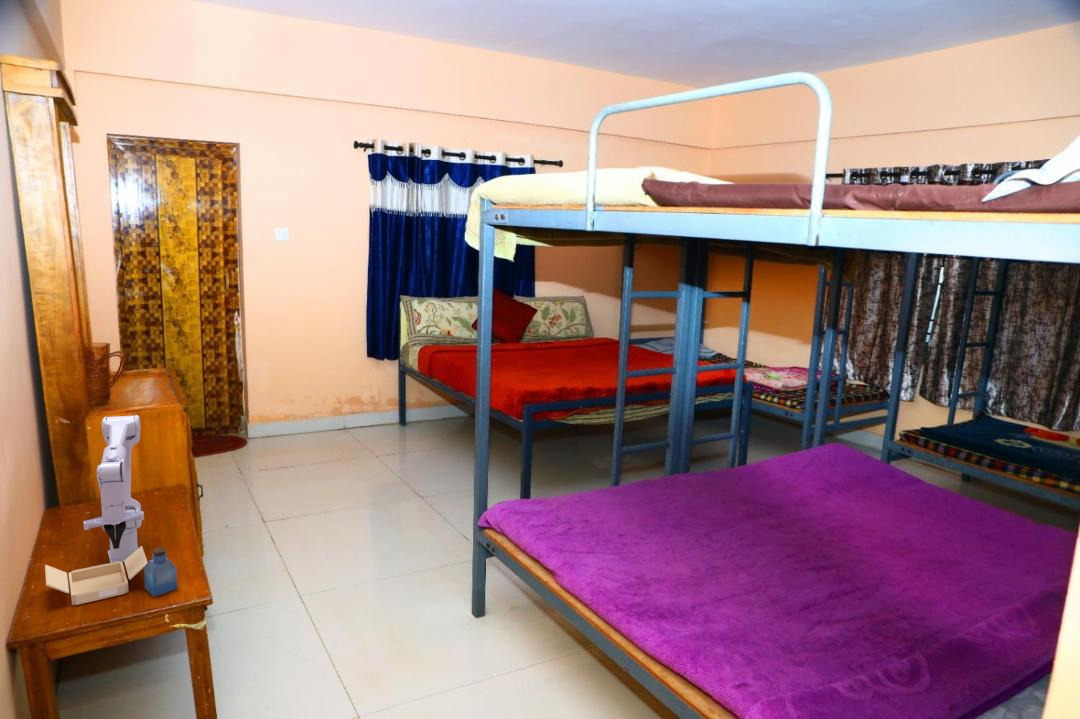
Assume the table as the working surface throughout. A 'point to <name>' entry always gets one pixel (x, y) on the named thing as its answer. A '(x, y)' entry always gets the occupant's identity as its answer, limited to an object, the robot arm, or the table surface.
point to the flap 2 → (135, 562)
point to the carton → (97, 582)
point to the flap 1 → (56, 579)
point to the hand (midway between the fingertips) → (116, 547)
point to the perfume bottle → (160, 574)
